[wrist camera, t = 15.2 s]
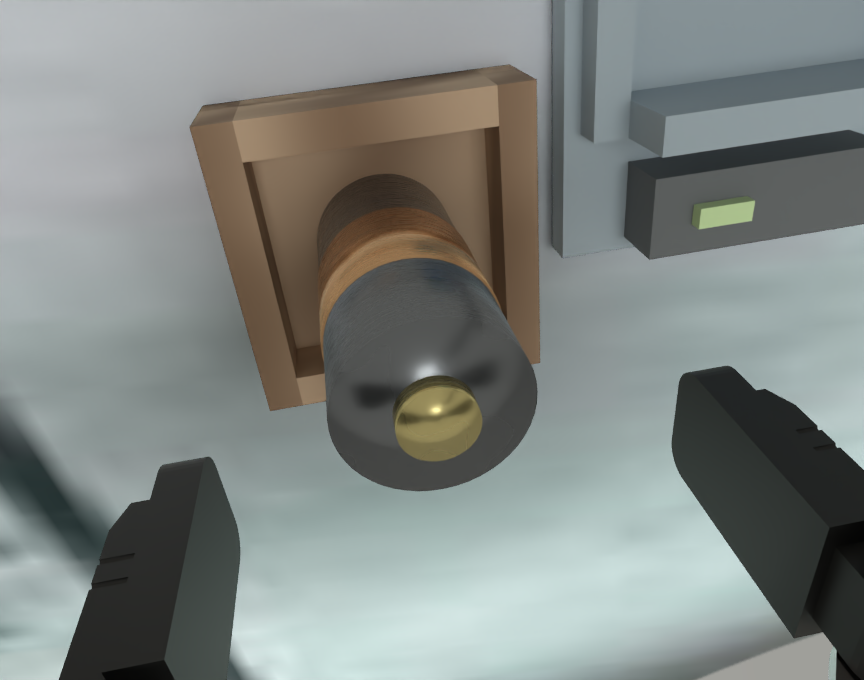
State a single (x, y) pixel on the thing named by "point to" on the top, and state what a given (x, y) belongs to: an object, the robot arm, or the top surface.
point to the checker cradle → (704, 122)
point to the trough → (354, 159)
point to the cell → (414, 342)
